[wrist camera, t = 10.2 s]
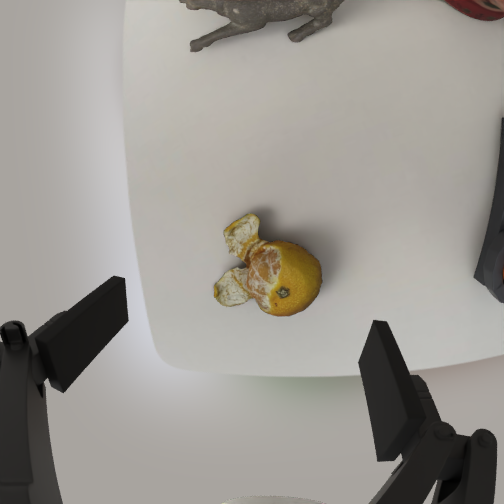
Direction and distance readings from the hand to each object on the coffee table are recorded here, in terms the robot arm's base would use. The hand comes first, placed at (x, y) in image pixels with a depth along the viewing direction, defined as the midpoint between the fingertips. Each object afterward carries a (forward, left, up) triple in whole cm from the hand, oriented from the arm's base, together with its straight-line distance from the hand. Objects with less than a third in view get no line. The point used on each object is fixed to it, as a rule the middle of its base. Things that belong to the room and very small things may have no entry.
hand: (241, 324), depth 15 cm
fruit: (0, 0, -10) cm, 10 cm away
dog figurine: (+20, +2, -10) cm, 22 cm away
